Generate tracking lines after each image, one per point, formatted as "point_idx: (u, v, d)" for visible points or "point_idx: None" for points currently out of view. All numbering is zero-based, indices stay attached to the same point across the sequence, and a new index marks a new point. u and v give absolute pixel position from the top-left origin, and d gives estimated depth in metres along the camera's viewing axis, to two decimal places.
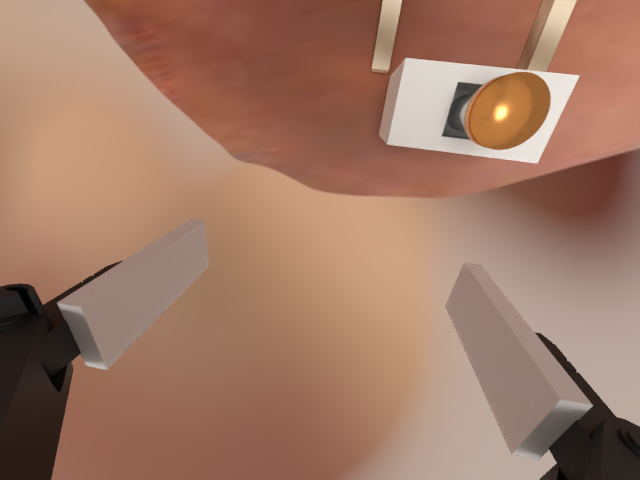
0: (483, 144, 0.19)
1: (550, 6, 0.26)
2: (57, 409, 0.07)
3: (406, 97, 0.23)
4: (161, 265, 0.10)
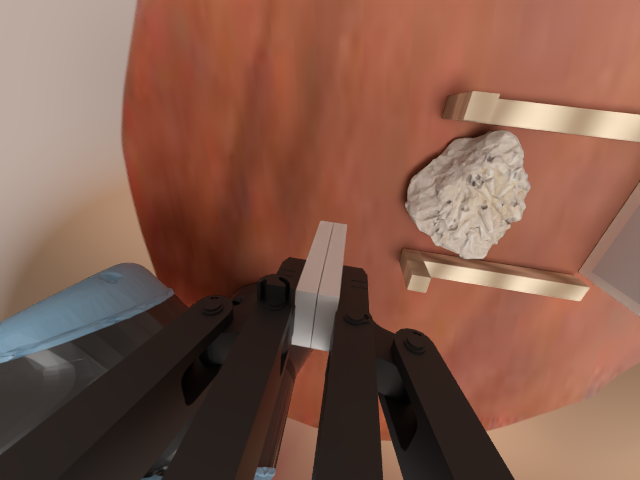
0: None
1: (603, 137, 0.23)
2: (276, 392, 0.08)
3: None
4: None
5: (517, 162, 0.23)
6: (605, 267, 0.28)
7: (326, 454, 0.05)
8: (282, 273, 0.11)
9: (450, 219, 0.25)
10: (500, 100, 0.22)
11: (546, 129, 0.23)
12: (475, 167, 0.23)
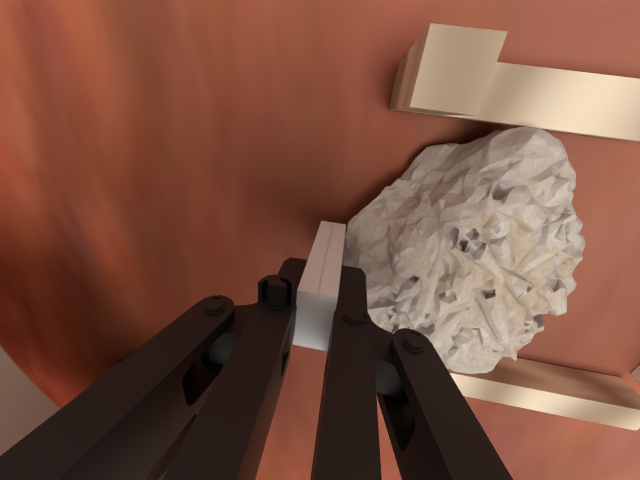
0: None
1: None
2: (277, 393, 0.08)
3: None
4: None
5: (564, 200, 0.10)
6: None
7: (324, 454, 0.05)
8: (283, 273, 0.11)
9: (419, 313, 0.12)
10: (505, 66, 0.10)
11: (606, 134, 0.10)
12: (466, 212, 0.10)
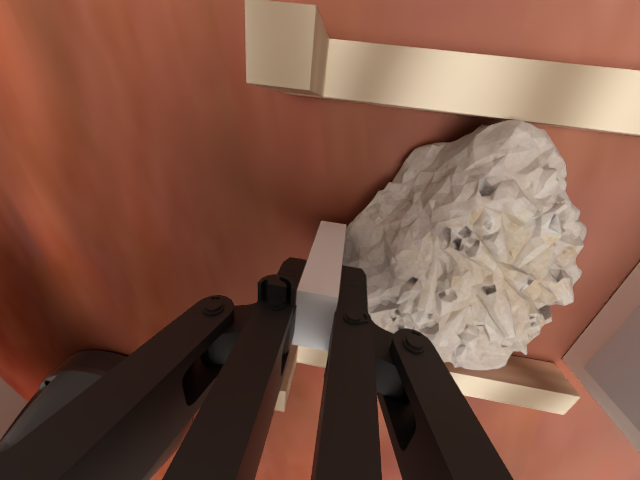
0: None
1: (604, 130, 0.10)
2: (276, 393, 0.08)
3: None
4: None
5: (554, 190, 0.10)
6: (608, 369, 0.15)
7: (325, 454, 0.05)
8: (283, 273, 0.11)
9: (421, 314, 0.12)
10: (373, 46, 0.10)
11: (480, 113, 0.10)
12: (456, 211, 0.10)
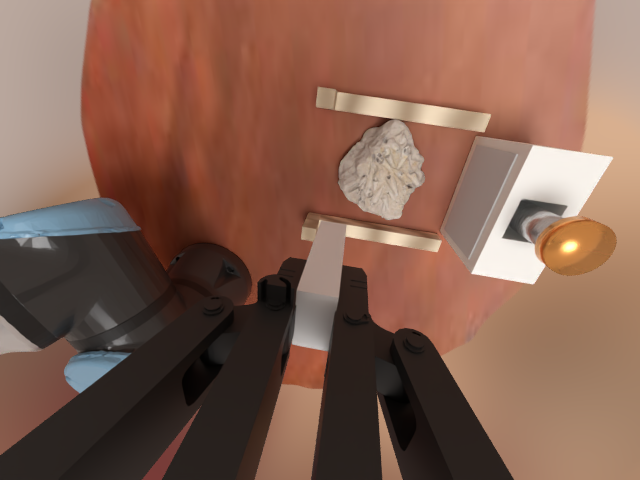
0: (600, 264, 0.21)
1: (426, 123, 0.32)
2: (276, 392, 0.08)
3: (500, 272, 0.29)
4: None
5: (405, 141, 0.31)
6: (448, 224, 0.37)
7: (325, 454, 0.05)
8: (283, 273, 0.11)
9: (367, 188, 0.33)
10: (351, 95, 0.31)
11: (386, 116, 0.32)
12: (376, 147, 0.31)
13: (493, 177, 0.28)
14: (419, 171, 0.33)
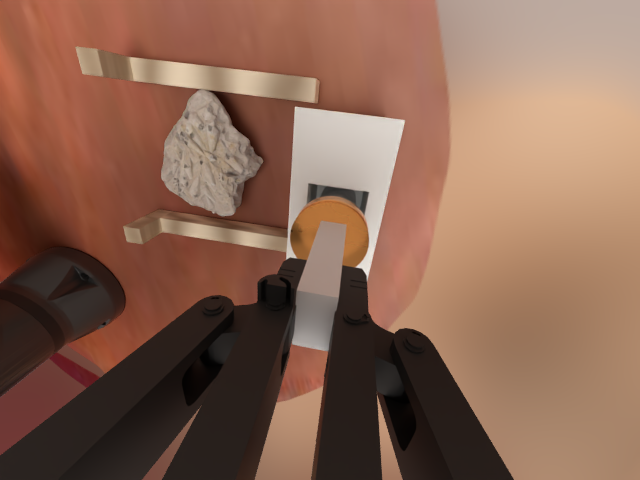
0: (361, 259, 0.16)
1: (246, 94, 0.25)
2: (276, 393, 0.08)
3: None
4: None
5: (212, 117, 0.25)
6: None
7: (325, 454, 0.05)
8: (283, 273, 0.11)
9: (180, 177, 0.27)
10: (146, 60, 0.25)
11: (194, 87, 0.25)
12: (178, 125, 0.25)
13: None
14: (243, 155, 0.27)
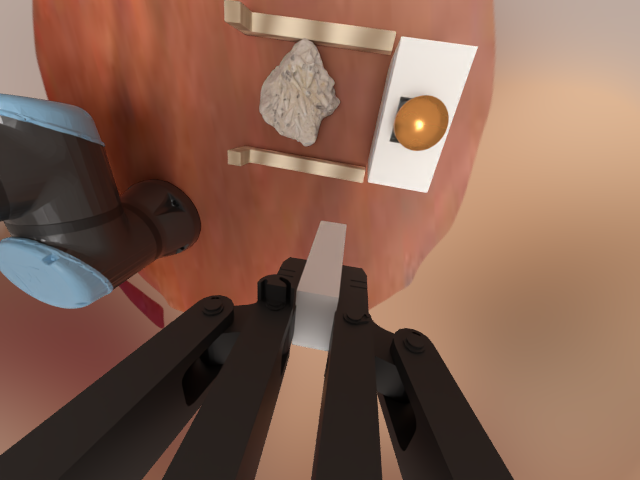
0: (440, 138, 0.24)
1: (338, 44, 0.33)
2: (276, 393, 0.08)
3: (393, 179, 0.30)
4: None
5: (312, 59, 0.33)
6: None
7: (325, 454, 0.05)
8: (283, 273, 0.11)
9: (279, 108, 0.35)
10: (265, 15, 0.33)
11: (299, 37, 0.33)
12: (285, 65, 0.33)
13: None
14: (329, 93, 0.34)
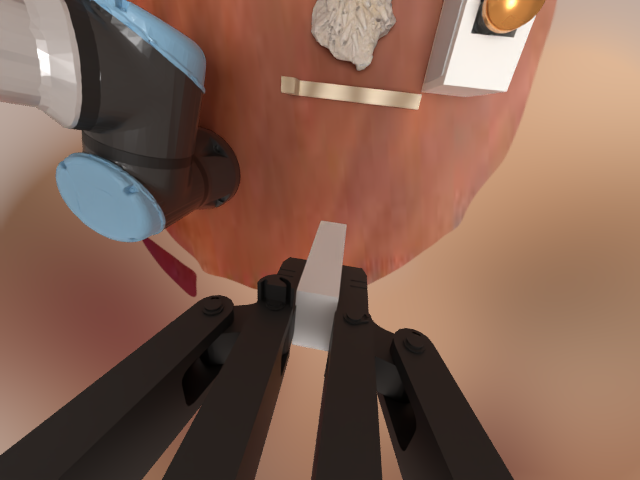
0: (538, 10, 0.23)
1: None
2: (276, 392, 0.08)
3: (471, 79, 0.29)
4: None
5: None
6: (427, 73, 0.37)
7: (325, 454, 0.05)
8: (283, 273, 0.11)
9: (336, 23, 0.34)
10: None
11: None
12: None
13: None
14: (388, 6, 0.33)
